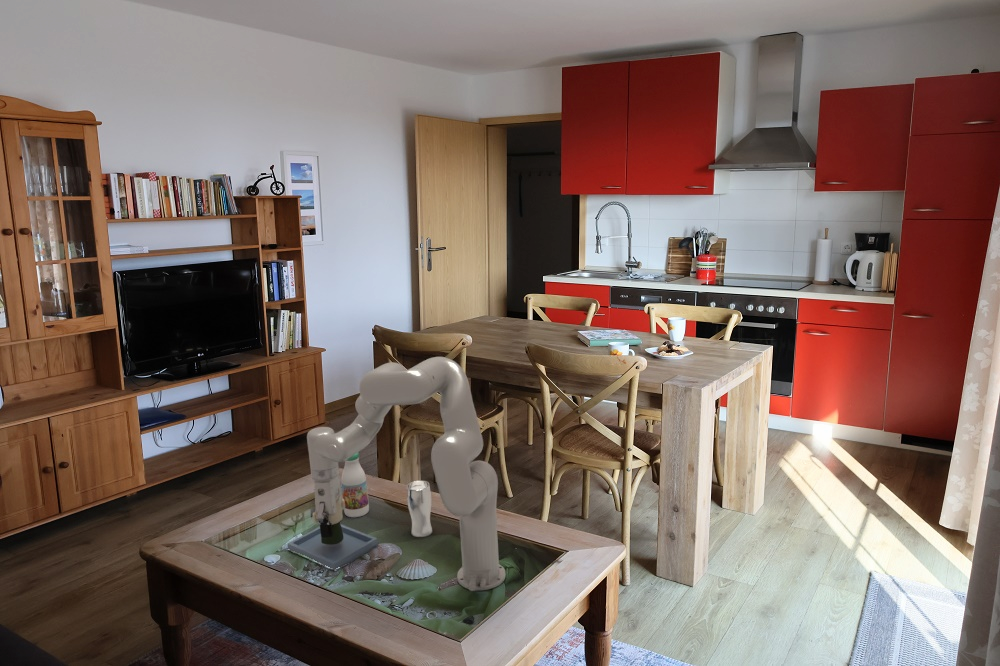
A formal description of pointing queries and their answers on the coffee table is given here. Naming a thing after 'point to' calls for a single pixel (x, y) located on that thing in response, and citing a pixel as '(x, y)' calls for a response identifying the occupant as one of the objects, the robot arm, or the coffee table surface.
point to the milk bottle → (354, 488)
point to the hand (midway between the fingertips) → (331, 528)
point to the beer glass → (419, 507)
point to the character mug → (333, 524)
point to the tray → (334, 547)
